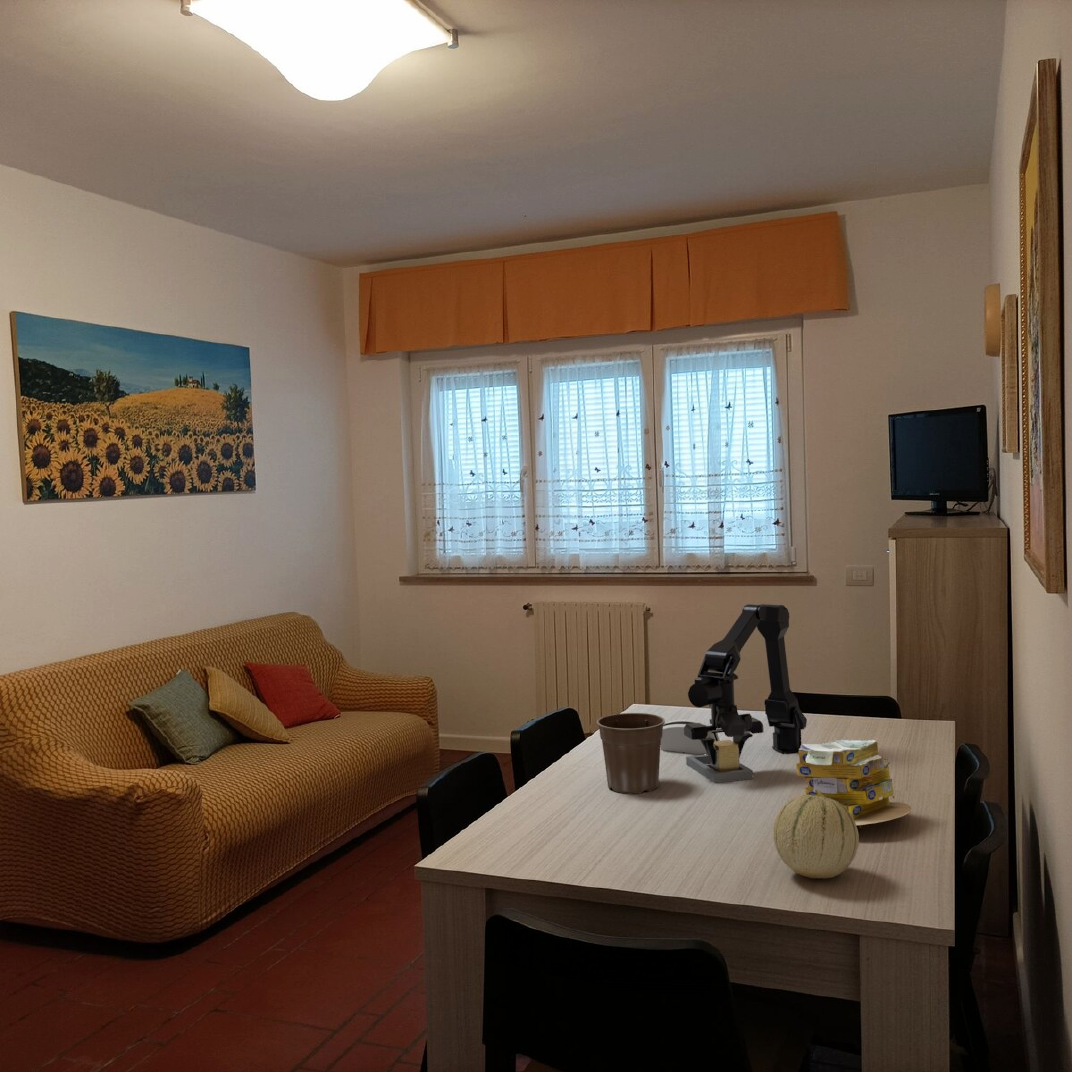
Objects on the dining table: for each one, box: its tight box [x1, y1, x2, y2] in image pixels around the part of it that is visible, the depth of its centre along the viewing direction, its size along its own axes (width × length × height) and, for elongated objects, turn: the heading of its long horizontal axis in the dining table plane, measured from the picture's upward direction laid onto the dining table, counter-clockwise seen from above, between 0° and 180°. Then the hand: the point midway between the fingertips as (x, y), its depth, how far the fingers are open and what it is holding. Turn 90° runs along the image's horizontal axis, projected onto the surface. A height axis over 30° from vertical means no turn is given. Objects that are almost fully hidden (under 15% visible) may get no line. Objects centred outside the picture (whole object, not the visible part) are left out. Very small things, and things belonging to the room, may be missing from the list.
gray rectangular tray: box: [685, 754, 754, 784], centre depth 255 cm, size 10×18×2 cm, turn 13°
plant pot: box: [596, 712, 666, 794], centre depth 244 cm, size 16×16×16 cm
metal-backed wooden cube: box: [710, 739, 740, 772], centre depth 251 cm, size 6×5×6 cm
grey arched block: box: [660, 719, 721, 755], centre depth 275 cm, size 17×5×10 cm, turn 60°
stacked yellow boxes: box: [796, 738, 913, 830], centre depth 213 cm, size 25×25×17 cm
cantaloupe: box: [773, 789, 860, 880], centre depth 184 cm, size 15×15×15 cm
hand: (724, 763), depth 251 cm, fingers closed on metal-backed wooden cube, 6 cm apart
